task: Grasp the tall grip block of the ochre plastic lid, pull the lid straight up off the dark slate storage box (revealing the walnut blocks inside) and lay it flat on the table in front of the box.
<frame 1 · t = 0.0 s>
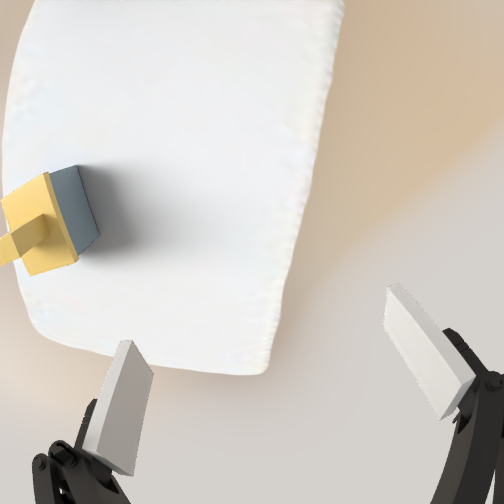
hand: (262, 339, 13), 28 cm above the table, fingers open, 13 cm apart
lid: (37, 226, 29), point 8 cm above the table, touching box
box: (65, 209, 36), on the table
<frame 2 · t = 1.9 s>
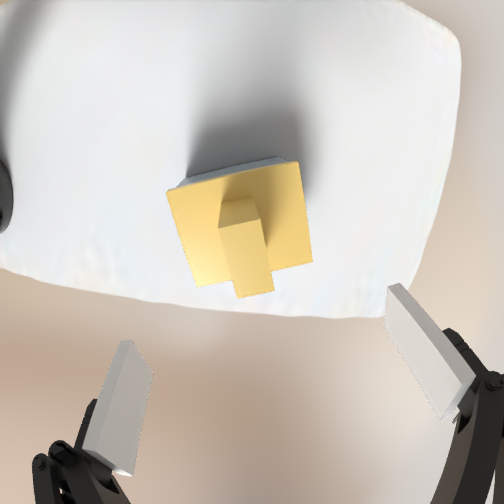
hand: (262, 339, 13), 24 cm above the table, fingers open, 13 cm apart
lid: (242, 224, 27), point 8 cm above the table, touching box
box: (240, 203, 35), on the table
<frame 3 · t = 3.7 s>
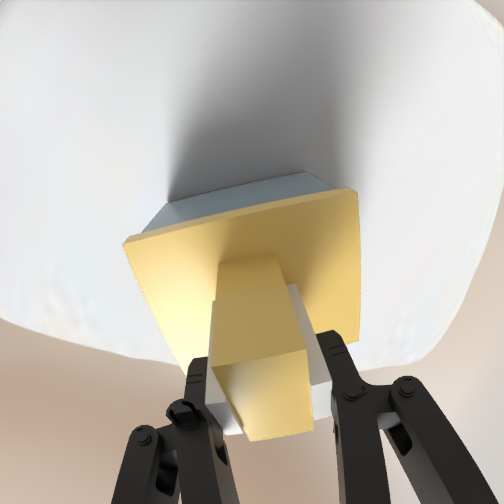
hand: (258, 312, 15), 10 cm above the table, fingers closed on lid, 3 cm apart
lid: (255, 292, 17), point 8 cm above the table, touching box, gripper
box: (248, 241, 24), on the table
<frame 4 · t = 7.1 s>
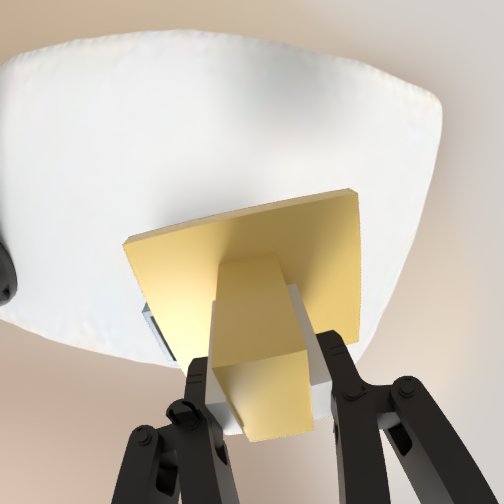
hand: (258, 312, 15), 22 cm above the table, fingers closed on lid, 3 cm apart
lid: (256, 292, 17), point 20 cm above the table, touching gripper
box: (203, 300, 41), on the table
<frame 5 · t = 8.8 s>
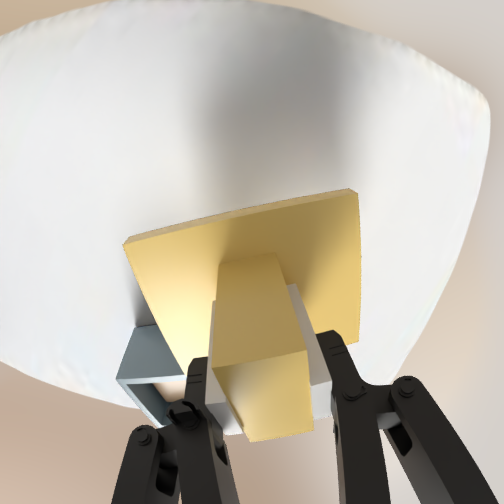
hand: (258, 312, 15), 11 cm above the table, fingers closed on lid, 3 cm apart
lid: (256, 292, 17), point 9 cm above the table, touching gripper
box: (195, 351, 31), on the table
when the fingers open (5 cm above the table, at t = 10.4 s): lid drops 2 cm, point 1 cm above the table.
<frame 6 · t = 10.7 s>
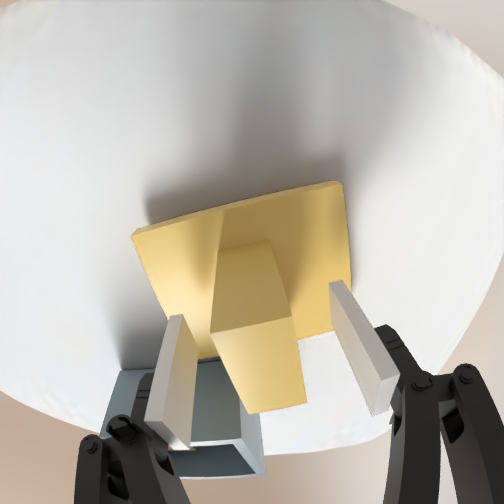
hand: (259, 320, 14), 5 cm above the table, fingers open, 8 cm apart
lid: (253, 278, 18), point 1 cm above the table
box: (192, 396, 25), on the table
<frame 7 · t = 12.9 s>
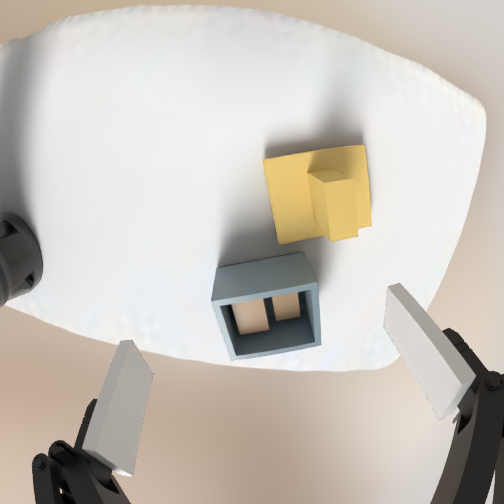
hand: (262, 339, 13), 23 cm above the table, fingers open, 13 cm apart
lid: (320, 192, 33), point 1 cm above the table
box: (265, 290, 39), on the table
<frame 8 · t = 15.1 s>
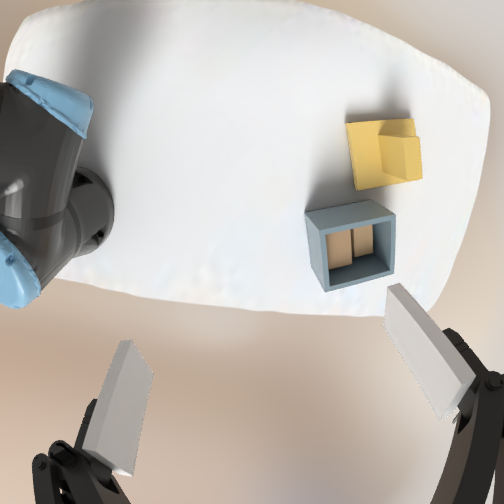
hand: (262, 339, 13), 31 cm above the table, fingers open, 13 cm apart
lid: (384, 151, 38), point 1 cm above the table
box: (341, 233, 44), on the table
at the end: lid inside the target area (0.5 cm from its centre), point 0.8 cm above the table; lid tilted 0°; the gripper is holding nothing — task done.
